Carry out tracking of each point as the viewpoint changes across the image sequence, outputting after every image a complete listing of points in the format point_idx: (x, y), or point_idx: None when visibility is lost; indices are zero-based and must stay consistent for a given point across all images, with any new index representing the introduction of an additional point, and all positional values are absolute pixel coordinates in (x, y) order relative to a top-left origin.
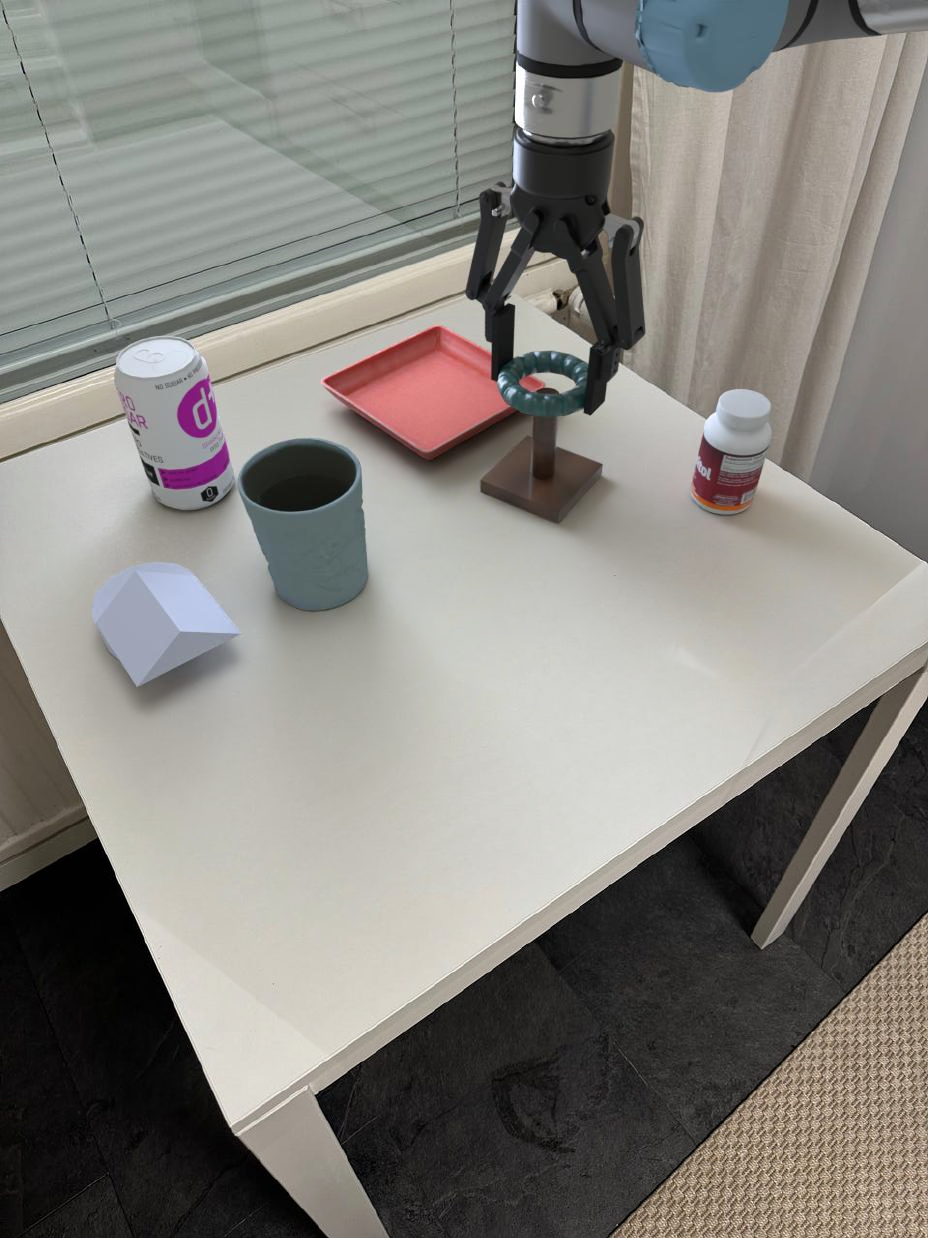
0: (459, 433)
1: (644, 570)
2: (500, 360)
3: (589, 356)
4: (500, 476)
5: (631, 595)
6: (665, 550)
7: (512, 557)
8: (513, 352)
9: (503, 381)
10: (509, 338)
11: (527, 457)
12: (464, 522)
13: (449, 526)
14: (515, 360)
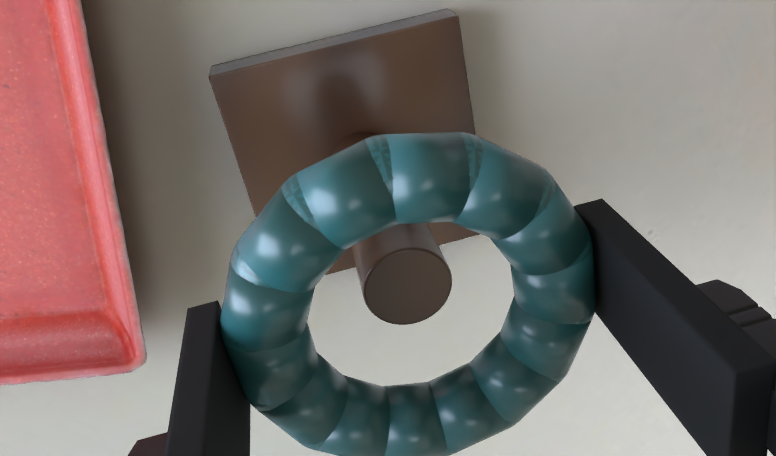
0: (125, 269)
1: (690, 182)
2: (244, 426)
3: (704, 449)
4: None
5: (697, 245)
6: (702, 107)
7: (473, 334)
8: (213, 343)
9: (334, 454)
10: (220, 428)
11: (291, 149)
12: (334, 344)
13: None
14: (268, 371)
